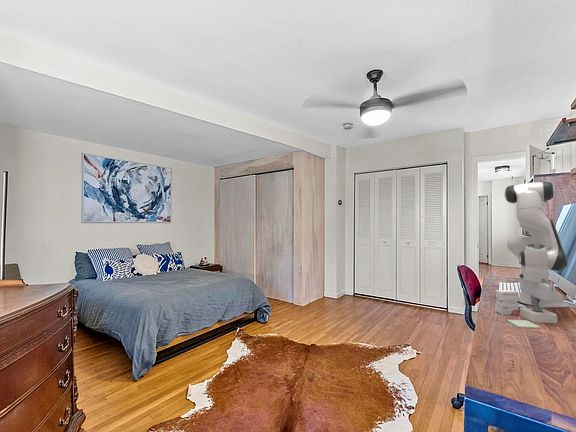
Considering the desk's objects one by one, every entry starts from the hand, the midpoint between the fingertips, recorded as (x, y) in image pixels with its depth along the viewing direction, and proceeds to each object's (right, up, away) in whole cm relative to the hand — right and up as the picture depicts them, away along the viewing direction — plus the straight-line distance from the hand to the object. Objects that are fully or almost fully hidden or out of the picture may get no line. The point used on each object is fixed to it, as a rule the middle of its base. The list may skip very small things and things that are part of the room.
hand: (537, 305), depth 142 cm
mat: (-13, -7, -7) cm, 16 cm away
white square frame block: (0, -7, 0) cm, 7 cm away
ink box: (-8, -7, +9) cm, 14 cm away
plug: (0, -7, 0) cm, 7 cm away
